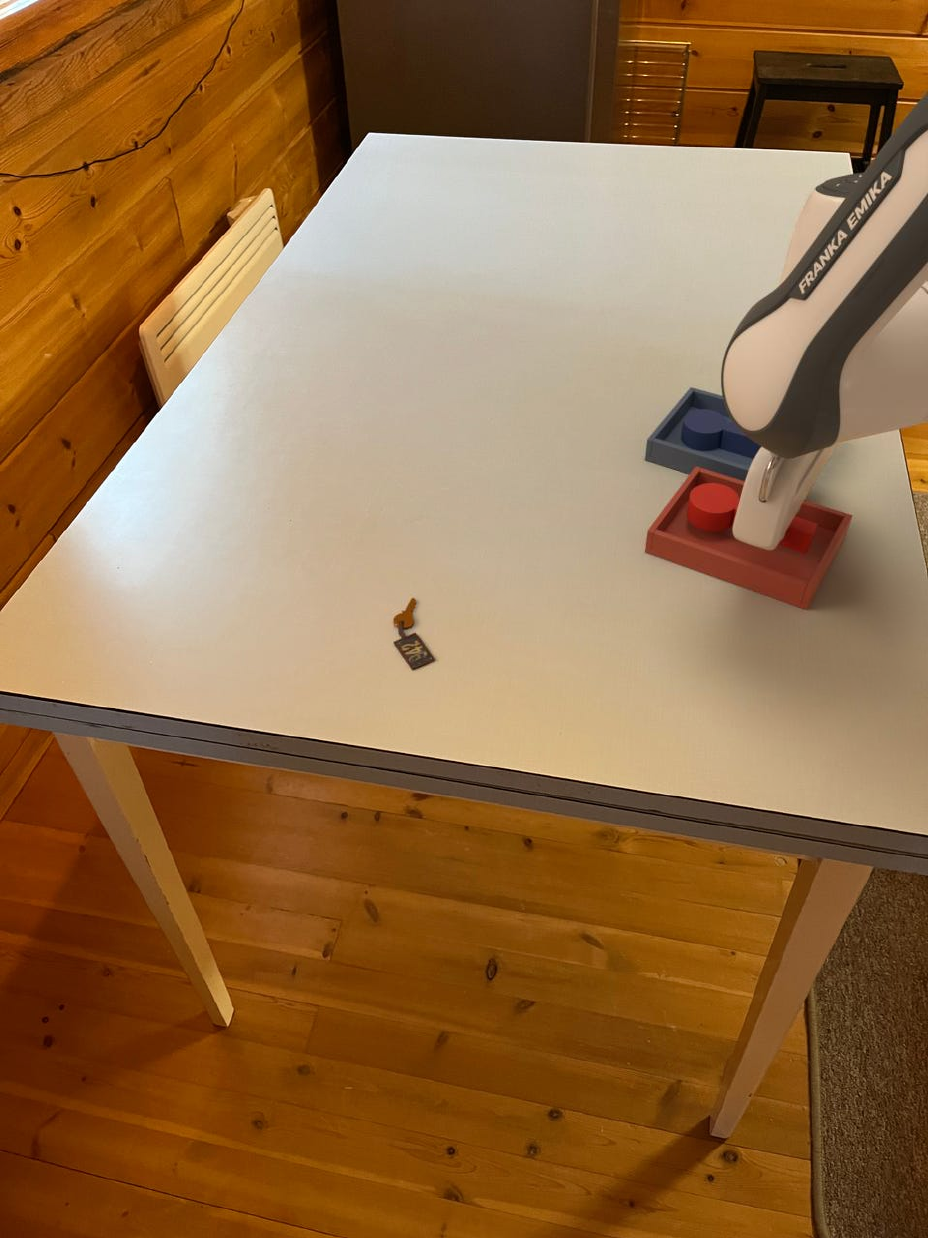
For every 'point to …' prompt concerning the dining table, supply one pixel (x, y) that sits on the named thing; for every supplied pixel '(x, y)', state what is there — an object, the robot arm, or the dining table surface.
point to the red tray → (747, 546)
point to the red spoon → (718, 510)
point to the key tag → (411, 640)
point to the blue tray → (678, 456)
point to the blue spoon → (715, 434)
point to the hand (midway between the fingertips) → (780, 524)
